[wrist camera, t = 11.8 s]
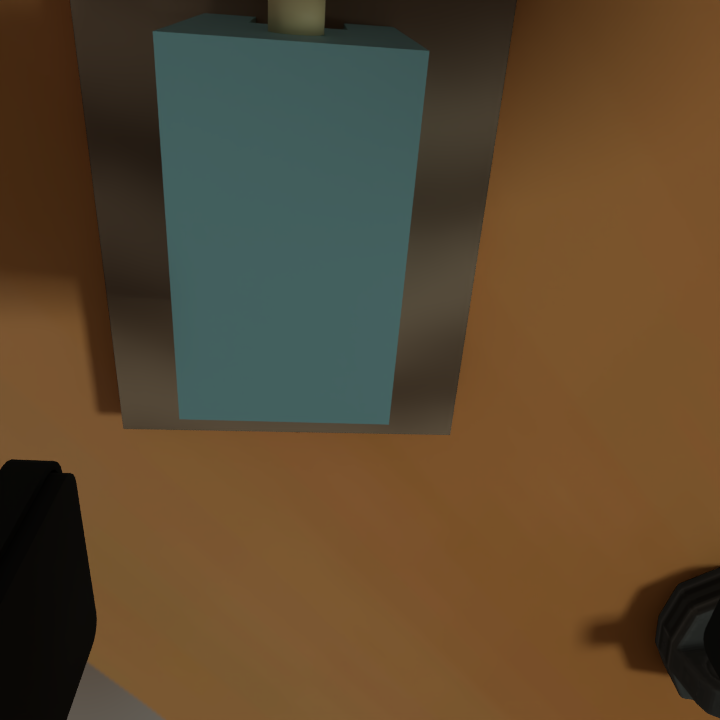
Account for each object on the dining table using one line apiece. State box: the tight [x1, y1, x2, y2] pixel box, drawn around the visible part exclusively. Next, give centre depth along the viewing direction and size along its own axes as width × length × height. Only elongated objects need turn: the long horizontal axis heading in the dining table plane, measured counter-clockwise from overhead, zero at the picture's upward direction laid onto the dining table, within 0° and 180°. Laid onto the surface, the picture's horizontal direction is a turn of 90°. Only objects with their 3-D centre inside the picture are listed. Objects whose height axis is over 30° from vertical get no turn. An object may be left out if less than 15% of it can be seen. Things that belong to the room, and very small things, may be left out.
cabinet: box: [153, 0, 429, 425], centre depth 21 cm, size 11×6×8 cm, turn 176°
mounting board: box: [70, 0, 517, 435], centre depth 24 cm, size 22×14×3 cm, turn 176°
